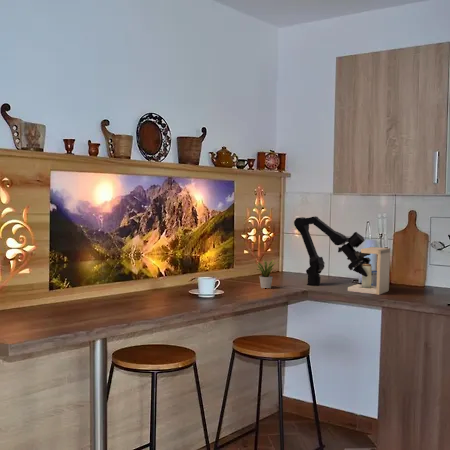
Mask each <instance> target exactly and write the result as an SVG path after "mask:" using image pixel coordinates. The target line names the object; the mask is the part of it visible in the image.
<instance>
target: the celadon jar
mask: <svg viewBox="0 0 450 450" xmlns="http://www.w3.org/2000/svg"><path fill="white" fill-rule="evenodd" d="M362 267H363V269H364V270H365V272H366V273H367V275H368V276H367V277H365V276H363V275H361V285H362V288H370V289H371V280H372V270H373V269H372V268H373V266H372V263H369V264H363V266H362Z"/></svg>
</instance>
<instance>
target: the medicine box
mask: <svg viewBox="0 0 450 450" xmlns="http://www.w3.org/2000/svg"><path fill="white" fill-rule="evenodd" d="M372 273H373V275H372V280H371V286H377V269H376V270H375V269H372Z"/></svg>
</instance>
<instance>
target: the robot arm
mask: <svg viewBox="0 0 450 450" xmlns="http://www.w3.org/2000/svg"><path fill="white" fill-rule="evenodd" d="M293 225H294V226H295V229H296V230H297V231H298V232H299V234H300V236H301V238H302V241H303V244H304V246H305V249H306V252H307V254H308V257H309V261H308V262H309V267H308V268H307V269H306V270H305V271H306V275H307V284H306V285H307V286H320V285H321V280H322V277H321V273H322V271H323V270H324V269H325V264H326V263H325V262H324V258H323V256H319V255H318V253H317V250H316V247H315V245H314V242H313V240H312V237H311V234H310V225H314V226H315V227H316V228H317V229H319V230H320V231H321V232H323V234H325V235H327V237H328V238H329V239H330V241H331V242H332V244H333V245H335V246H337V247H338V246H339V247H338V249H337V252H338V253H341V252H342V253H343V254H344V255H345V256H346V257H347V258H346V260H348V261H350V263H349V264H348V265H347V266H348V267H347V268H348V270H349V271H354V272H355V273H358V274H359V275H361V276H362V275H363V276H365V277H367V276H368V275H367V273H366V272H365V270H364V269H363V267H362V266H363V264H371V262H372V261H371V260H372V259H371V258H370V257H368V256H370V255H371V254H370V253H361V251H358V250H356V249H355V248H359V246H361V245H362V244H363V243H364V242H365V241H366V239H365V238H364V236H363V235H361V234H360V233H358V232H357V231H355V232H353V233H352V235H351V236H350V237H347V236H346V235H345V234H343V233H341V232H338V231H336V230H334V229H333V228H331V226H329V225H328V224H327V223H325V222H324V221H323V220H322V219H320V218H319V217H318V216H315V215H314V216H311V217H303V216H301V217H296V218H295V219H294V221H293ZM372 275H373V273H372Z"/></svg>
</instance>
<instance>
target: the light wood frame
mask: <svg viewBox="0 0 450 450" xmlns="http://www.w3.org/2000/svg"><path fill="white" fill-rule="evenodd" d="M360 252H361V253H370V254H372V255H377V264H376V265H377V267H376V271H377V286H371V289H370V288H362V283H361V284H359V283H357V284H354V285H350V286H347V292H355V293H362V294H370V295H371V294H373V295H378V296H379V295H382V294H385V293H387V292H389V289H390V267H391V266H390V265H391V247H379V246H378V247H376V246H370V247H369V246H368V247H365V248H361V249H360Z"/></svg>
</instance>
